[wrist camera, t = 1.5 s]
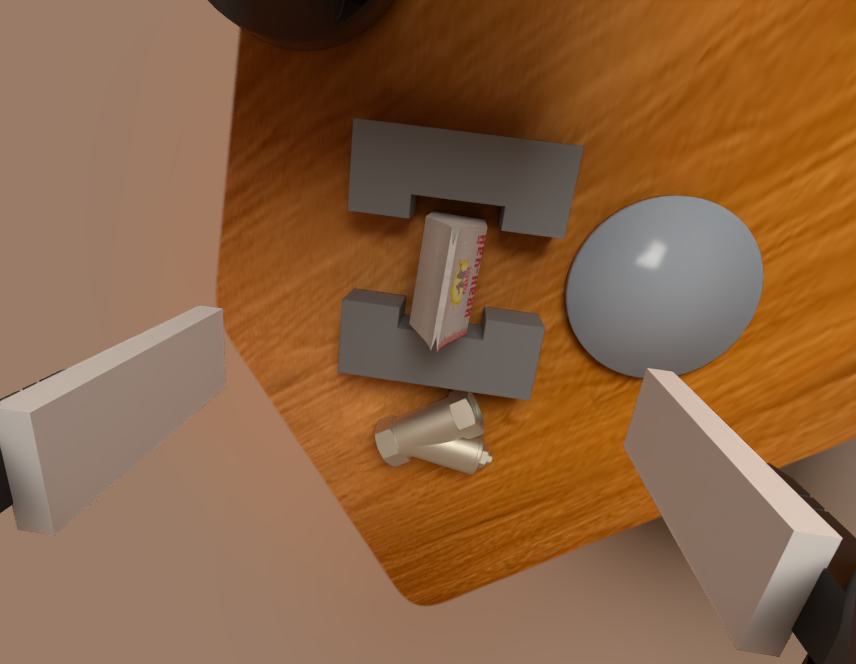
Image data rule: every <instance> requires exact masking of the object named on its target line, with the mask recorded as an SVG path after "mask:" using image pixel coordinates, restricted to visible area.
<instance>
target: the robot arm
mask: <svg viewBox="0 0 856 664" xmlns="http://www.w3.org/2000/svg"><path fill="white" fill-rule="evenodd" d="M208 1H209V2H210V3H211V4H212V5H213V6H214V7H215V8H216V9H217V10H218V11H219V12H220V13H222V14H223V15H224V16H225V17H226V18H228V19H229V20H231V21H232V22H234V23H235V24H236V25H238V26H239V27H241V28H242V29H244V30H245V31H247V32H248V33H250V34H251V35H253V36H255V37H257V38H258V39H260V40H262V41H265V42H267V43H269V44H272V45H275V46H278V47H282V48H286V49H292V50H320V49H325V48H330V47H333V46H336V45H339V44H342V43H344V42H346V41H348V40H350V39H353V38H354V37H356V36H358V35H359V34H361V33H362V32H364V31H365V30H366V29H368V28H369V27H370V26H371V25H372V24H374V23H375V22H376V21H377V20H378V19H379V18H380V17H381V16H382V15H383V14H384V12H385V11H386V10H387V9H388V8H389V6H390V5H391V4H392V2H393V1H394V0H208ZM225 388H226V378H225V352H224V325H223V309H222V308H215V307H208V306H200V305H199V306H197V307H195V308H193V309H191V310H189V311H186V312H184V313H182V314H180V315H178V316H176V317H174V318H172V319H170V320H168V321H166V322H164V323H162V324H159V325H157V326H155V327H153V328H151V329H149V330H147V331H145V332H143V333H141V334H139V335H137V336H135V337H132V338H130V339H128V340H127V341H124V342H122V343H120V344H118V345H116V346H114V347H112V348H110V349H108V350H105V351H103V352H101V353H99V354H97V355H95V356H93V357H91V358H89V359H87V360H85V361H83V362H81V363H78V364H76V365H74V366H72V367H70V368H68V369H64V370H61V371H58V372H56V373H54V374H52V375H50V376H48V377H46V378H44V379H42V380H40V382H39V383H33V384H31V385H29V386H27V387H25V388H23V390H22V391H17V392H14V393H12V394H11V395H8V396H6V397H4V398H2V399H0V513H1V512H3V511H4V510H5V509H7V508H8V507H10V506H11V505H12V507H13V512H14V516H15V520H16V524H17V529H18V530H23V531H29V532H35V533H41V534H47V535H53V536H55V535H56V534H57V533H58V532H60V531H61V530H62V529H63V528H64V527H65V526H66V525H68V524H69V523H70V522H71V521H72V520H73V519H75V518H76V517H77V516H78V515H79V514H80V513H81V512H82V511H84V510H85V509H86V508H87V507H88V506H89V505H91V504H92V503H93V502H94V501H95V500H96V499H97V498H99V497H100V496H101V495H102V494H103V493H104V492H106V491H107V490H108V489H109V488H110V487H111V486H112V485H114V484H115V483H116V482H117V481H118V480H119V479H121V478H122V477H123V476H124V475H125V474H126V473H128V472H129V471H130V470H131V469H132V468H133V467H134V466H136V465H137V464H138V463H139V462H140V461H141V460H143V458H145V457H146V456H147V455H148V454H150V453H151V452H152V451H153V450H154V449H155V448H156V447H158V446H159V445H160V444H161V443H162V442H163V441H164V440H166V439H167V438H168V437H169V436H170V435H171V434H173V433H174V432H175V431H176V430H177V429H178V428H179V427H181V426H182V425H183V424H184V423H185V422H186V421H188V420H189V419H190V418H191V417H192V416H193V415H195V414H196V413H197V412H198V411H199V410H200V409H201V408H203V407H204V406H205V405H206V404H207V403H208V402H210V401H211V399H213V398H214V397H215V396H216V395H217V394H219V393H220V392H221V391H222V390H223V389H225ZM623 447H624V449H625V450H626V452H627V454H628V456H629V458H630V459H631V461H632V463H633V465H634V467H635V468H636V470H637V472H638V474H639V476H640V477H641V479H642V481H643V483H644V485H645V486H646V488H647V490H648V492H649V494H650V495H651V497H652V499H653V501H654V503H655V504H656V506H657V508H658V510H659V512H660V513H661V515H662V517H663V519H664V520H665V522H666V524H667V526H668V528H669V529H670V531H671V533H672V535H673V537H674V538H675V540H676V542H677V544H678V546H679V547H680V549H681V551H682V553H683V555H684V556H685V558H686V560H687V562H688V564H689V565H690V567H691V569H692V571H693V573H694V574H695V576H696V578H697V580H698V582H699V583H700V585H701V587H702V589H703V591H704V592H705V594H706V596H707V598H708V600H709V601H710V603H711V605H712V607H713V609H714V610H715V612H716V614H717V616H718V618H719V619H720V621H721V623H722V625H723V626H724V628H725V630H726V632H727V634H728V636H729V637H730V639H731V641H732V643H733V645H734V646H735V648H736V650H741V651H747V652H753V653H759V654H765V655H771V656H777V657H780V655H781V653H782V651H783V649H784V647H785V645H786V644H787V642H788V640H789V638H790V636H791V634H792V632H793V633H794V634H795V636H796V637H797V639H798V640H799V641H800V643H801V644H802V646H803V647H804V649H805V650H806V651H807V653H808V654H807V655H806V657H805V659H804V661H803V663H802V664H856V538H855V537H854V536H853V535H852V534H851V533H850V532H849V531H848V530H847V529H846V528H844V527H843V526H842V525H841V524H840V523H839V522H838V521H837V520H836V519H835V518H834V517H833V516H832V515H831V514H830V513H829V512H825V511H824V508H823V507H822V506H821V505H820V504H819V503H818V502H817V501H816V500H815V499H814V498H810V494H809V493H808V492H807V491H806V490H804V489H803V488H802V487H801V486H800V485H799V484H798V483H797V482H796V481H795V480H794V479H793V478H791V477H790V476H788V475H787V474H785V473H783V472H782V471H780V470H779V469H777V468H776V467H774V466H773V465H771V464H769V463H765V462H764V461H763V460H762V459H761V458H760V457H759V456H758V455H757V454H756V453H755V452H754V451H753V450H752V449H751V448H750V447H749V446H748V445H747V444H746V443H745V442H744V441H743V440H742V439H741V438H740V437H739V436H738V435H737V434H736V433H735V432H734V431H733V430H732V429H731V428H730V427H729V426H728V425H727V424H726V423H725V422H724V421H723V420H722V419H721V418H720V417H719V416H718V415H717V414H716V413H715V412H713V411H712V410H711V409H710V408H709V407H708V406H707V405H706V404H705V403H704V402H703V401H702V400H701V399H700V398H699V397H698V396H697V395H696V394H695V393H694V392H693V391H692V390H691V389H690V388H689V387H688V386H687V385H686V384H685V383H684V382H683V381H682V380H681V379H680V378H679V377H678V376H677V375H676V374H675V373H674V372H672V371H665V370H658V369H651V368H647V369H646V372H645V376H644V379H643V382H642V386H641V389H640V392H639V396H638V399H637V402H636V406H635V409H634V412H633V416H632V419H631V422H630V425H629V429H628V432H627V435H626V439H625V442H624V445H623Z"/></svg>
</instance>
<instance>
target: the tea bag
mask: <svg viewBox="0 0 856 664" xmlns="http://www.w3.org/2000/svg"><path fill="white" fill-rule="evenodd" d="M487 228H488V227H487V224H486V222H485V219H479V218H473V217H467V216H461V215H456V214H450V213H444V212H438V211H432V212H431V213H430V214H429V215H427V216H426V220H425V226H424V232H423V239H422V245H421V252H420V258H419V265H418V271H417V277H416V284H415V290H414V297H413V303H412V309H411V316H410V322H409V324H410V325H411V326H412V327H413V328H414V329H415V330H416V332H417V333H418V334H419V335H420V336H421V337H422V338H423V339H424V340H425V342H426V343H427V344H428V346H429V348H430V351H431V349H432V346H433V344H434V341H435V339H436V336H437V352H438V350H439V349H440V348H441V347H443V346H444V345H446V344H447V343H449V342H451V341H453V340H455V339H457V338H460V337H462V336H464V335H466V333H467V328H468V323H469V318H470V313H471V308H472V303H473V298H474V293H475V288H476V283H477V278H478V273H479V268H480V263H481V258H482V253H483V248H484V243H485V238H486V233H487Z"/></svg>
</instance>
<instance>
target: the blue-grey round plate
mask: <svg viewBox="0 0 856 664" xmlns="http://www.w3.org/2000/svg"><path fill="white" fill-rule="evenodd" d="M762 286H763V264H762V257H761V254H760V251H759V248H758V245H757V243H756V241H755V239H754V237H753V235H752V234H751V232H750V231H749V229H748V228H747V226H746V225H745V224H744V223H743V222H742V221H741V220H740V219H739V218H738V217H737V216H736V215H734V214H733V213H732V212H730V211H729V210H727V209H726V208H724V207H722V206H720V205H718V204H716V203H713V202H710V201H708V200H705V199H700V198H695V197H688V196H658V197H653V198H648V199H644V200H641V201H638V202H635V203H632V204H630V205H628V206H626V207H624V208H621V209H619V210H618V211H616V212H615V213H613V214H611V215H610V216H608V217H607V218H606V219H605V220H603V221H602V222H601V223H600V224H598V225H597V226H596V227H595V228H594V229H593V231H592V232H591V233H590V234H589V235H588V236H587V237H586V239H585V240H584V241H583V243H582V244H581V245H580V247H579V249H578V251H577V252H576V254H575V256H574V258H573V260H572V263H571V265H570V268H569V271H568V275H567V279H566V285H565V306H566V312H567V316H568V320H569V323H570V325H571V327H572V330H573V332H574V333H575V335H576V337H577V338H578V340H579V341H580V343H581V344H582V346H583V347H584V348H585V349H586V350H587V352H588V353H589V354H590V355H592V356H593V357H594V358H595V359H596V360H597V361H599V362H600V363H602V364H603V365H605V366H606V367H608V368H610V369H612V370H614V371H616V372H619V373H622V374H625V375H629V376H634V377H639V378H644V376H645V372H646V369H647V368H651V369H658V370H665V371H672V372H674V373H675V374H676V375H680V374H684V373H687V372H690V371H693V370H695V369H698V368H700V367H702V366H704V365H706V364H708V363H709V362H711V361H712V360H714V359H715V358H717V357H719V356H720V355H721V354H722V353H724V352H725V351H726V350H727V349H728V348H730V347H731V346H732V345H733V343H734V342H735V341H736V340H737V339H738V338H739V337H740V336H741V334H742V333H743V332H744V331H745V329H746V328H747V326H748V324H749V323H750V321H751V319H752V318H753V316H754V313H755V311H756V309H757V307H758V303H759V300H760V297H761V293H762Z"/></svg>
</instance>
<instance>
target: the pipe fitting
mask: <svg viewBox="0 0 856 664" xmlns="http://www.w3.org/2000/svg"><path fill="white" fill-rule="evenodd" d="M484 431H485V424H484V419H483V416H482V413H481V410H480V408H479V405H478V403H477V401H476V399H475V397H474V395H473V393H472V392H467V391H461V390H453V391H451V392H450V393H449V395H448V397H447V398H444V399H442V400H439V401H437V402H434V403H432V404H429V405H427V406H424V407H421V408H419V409H417V410H414V411H412V412H409V413H407V414H404V415H402V416H399V417H396V416H394V415H391V416H389V417H386V418H384V419H381V420H379V421H378V423H377V424H376V427H375V441H376V445H377V448H378V450H379V453H380V455H381V456H382V458H383V459H384V461H385V462H386V463H387V464H389V465H391V466H394V467H396V466H399V465H402V464H404V463H407V462H410V459H411V457H415V458H419V459H422V460H425V461H428V462H431V463H435V464H438V465H441V466H444V467H447V468H451V469H454V470H457V471H460V472H463V473H467V474H470V475H472V474H473V473H474V472H475V471H476V469H477V468H480V469H481V468H483V467H484V465H485V464H488V465H489V464H490V463H491V461H492V453H491V452H489V448H488V445H486V444H484V438H483V435H482V434H484Z"/></svg>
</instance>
